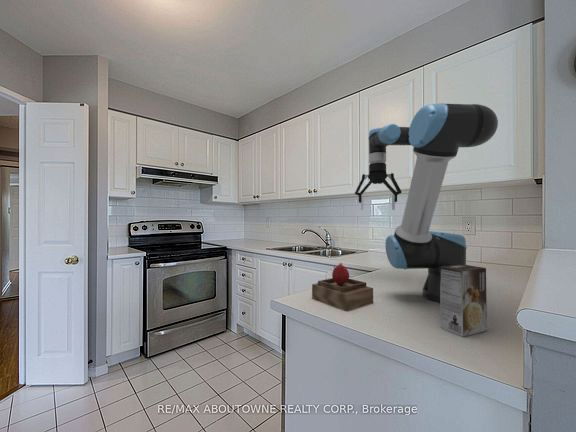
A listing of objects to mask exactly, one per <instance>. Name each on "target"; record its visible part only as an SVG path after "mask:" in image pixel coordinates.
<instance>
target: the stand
mask: <svg viewBox="0 0 576 432" xmlns="http://www.w3.org/2000/svg"><path fill="white" fill-rule="evenodd" d="M311 299H312V300H314V301H318V302H320V303H324V304H325V305H329V306H331V307H334V308H337V309H340V310H343V311H345V312H349V311H353V310H355V309H358V308H361V307H362V308H363V307H364V306H367V305H372V304H374V288H373V287H371V286H367V282H365V281H362V280H356V279H353V278H349V279H348V281H347V282H346V283H345V284H343V285H342V286H339V285H338V284H337V283H336V282H335V281H334V280H333V278H332V277H331V278H326V279H322V280H318V281H317V283H312V284H311Z"/></svg>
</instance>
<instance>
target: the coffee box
mask: <svg viewBox="0 0 576 432" xmlns="http://www.w3.org/2000/svg"><path fill="white" fill-rule="evenodd" d="M439 303H440V305H439V307H440V329H442V330H445V331H448V332H451V333H453V334H455V335H457V336H459V337H461V338H466V337H469V336H472V335H476V334H479V333H482V332H486V331H487V330H488V328H487V327H488V326H487V325H488V323H487V322H488V321H487V317H488V316H487V313H488V312H487V310H488V309H487V268H486V267H480V266H475V265H468V264H466V265H463V264H462V265H453V266H444V267H440V302H439Z"/></svg>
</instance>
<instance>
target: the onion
mask: <svg viewBox="0 0 576 432" xmlns="http://www.w3.org/2000/svg"><path fill="white" fill-rule="evenodd" d="M331 275H332V277H331V278H333V280H334V281H335V282H336V283H337V284H338V285H339V286H342V285H343V284H345V283H346V282H347V281H348V279H350V272H349V271H348V269H347V268H346V267H345V266H344V265H343V262H339V263H338V265H337V266H335V267H334V268H333V271H332V274H331Z"/></svg>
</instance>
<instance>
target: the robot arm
mask: <svg viewBox="0 0 576 432" xmlns="http://www.w3.org/2000/svg"><path fill="white" fill-rule="evenodd" d="M498 125H499V119H498V116H497V114H496V113H495V112H494V110H493V109H492V108H490V107H488V106H487V105H483V104H479V103H478V104H477V103H471V104H470V103H469V104H466V103H465V104H464V103H443V102H442V103H441V102H439V103H428V104H426V105H423V106H422V107H421V108H420V109H419V110H418V111H417V112H416V113H415V114H414V116H413V118H412V120H411V122H410V125H409V126H399V125H397V124H395V123H387V125H384V126H382V127H375V128H371V129H370V130H369V132H368V163H369V165H368V174H365V173H363V174H362V176H361V179H360V181H359V183H358V185H357V188H356V190H355V192H354V195H356V196H358V203H359V204H361V205H360V209H361V211H363V210H364V195H363V194H364V193H365V192H366V190H367V189H368V188H369V187H370V186H371V185H372V184H373V185H377V184H378V185H382V184H383V185H385V187H386V188H387V189H388V190H389V191H390V192H391V193H392V194H393V195H391V210H392V211H394V210H396V209H395V208H396V206H395V205H396V203H397V202H398V195H400V194H402V190H401V188H400V186H399V185H398V182H397V180H396V179H395V174H394V173H393V172H391V173H387V163H386V162H387V147H388V146H411V147H413V150H412V152H413V153H414V155H415V156H416V161H415V163H414V169H413V173H412V177H411V182H410V186H409V190H408V195H407V200H406V203H405V206H404V207H405V208H404V211H403V217H402V221H401V224H400V225H399V226H396V227H395V231H394V235H392V234H390V235H388V236H387V237H386V239H385V244H384V246H385V254H386V258H387V260H388V262H389V264H390V265H391V266H392V267H393V268H395V269H402V270H403V269H404V270H413V269H415V270H417V269H427V272H428V273H427V276H426V279H425V281H424V284H423V288H422V296H423V297H424V298H426V299H428V300H430V301H434V302H439V303H440V267H444V266H453V265H462V264H463V265H467V241H466V238H465V236H464V235H462V234H457V233H450V232H449V233H448V232H443V231H442V232H440V231H434V230H433V231H432V230H430V227H431V224H432V221H433V217H434V214H435V210H436V206H437V203H438V199H439V196H440V192H441V189H442V186H443V182H444V179H445V175H446V171H447V168H448V165H449V162H450V161H451V160H453V159H454V158H456V157H457V155H458V151H459V149H460V148H473V147H474V148H475V147H478V146H481V145H484V144H485V143H487V142H488V141H490V140H491V139H492V138H493V136H494V135H495V134H496V132H497V130H498ZM367 178H368V180H369V182H368V183H366V185H365V186H364V187H363V188H362V190H361V187H362V186H363V184H364V181H365V180H366V179H367ZM387 178H388V179H390V180H391V183H392V185H393V186H394V187H393V186H391V185H390V183H389V182H388V181H387V180H386V179H387ZM360 190H361V191H360ZM359 191H360V192H359Z"/></svg>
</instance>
